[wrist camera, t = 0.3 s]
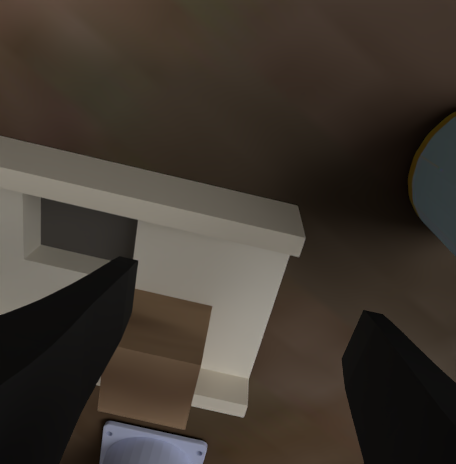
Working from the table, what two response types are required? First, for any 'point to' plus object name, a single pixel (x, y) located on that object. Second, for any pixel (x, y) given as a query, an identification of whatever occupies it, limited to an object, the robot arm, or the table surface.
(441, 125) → the bottle
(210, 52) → the table surface
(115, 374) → the block
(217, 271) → the trap lane
